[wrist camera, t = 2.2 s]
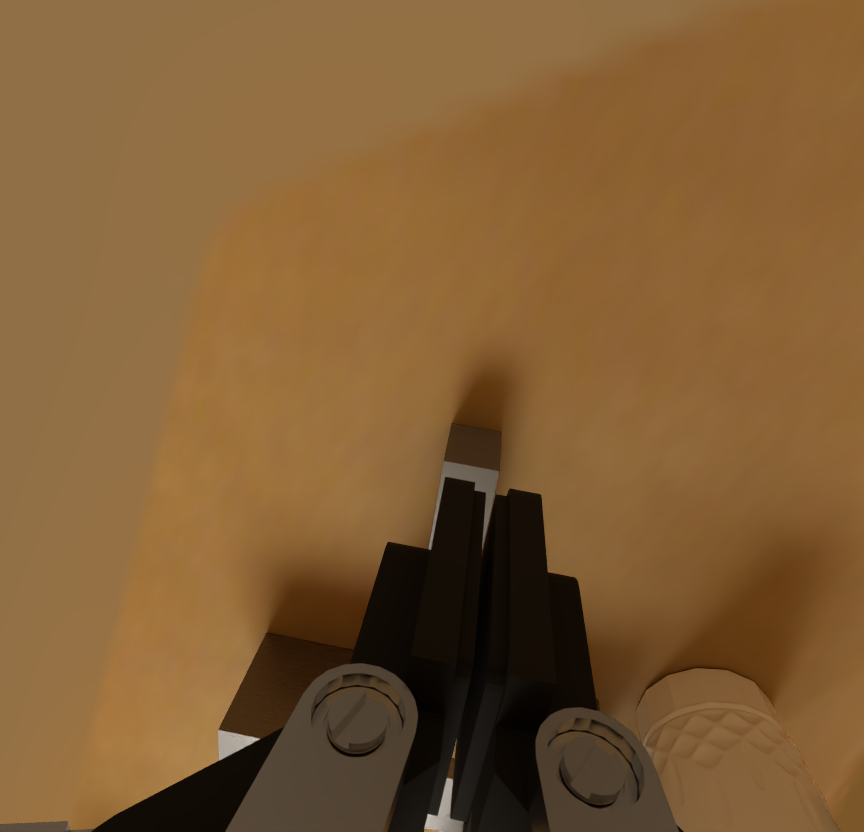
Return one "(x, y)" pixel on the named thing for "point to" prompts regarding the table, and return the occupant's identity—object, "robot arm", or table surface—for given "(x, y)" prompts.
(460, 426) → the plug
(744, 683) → the white cup
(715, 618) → the table surface
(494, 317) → the table surface
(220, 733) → the grey long block
